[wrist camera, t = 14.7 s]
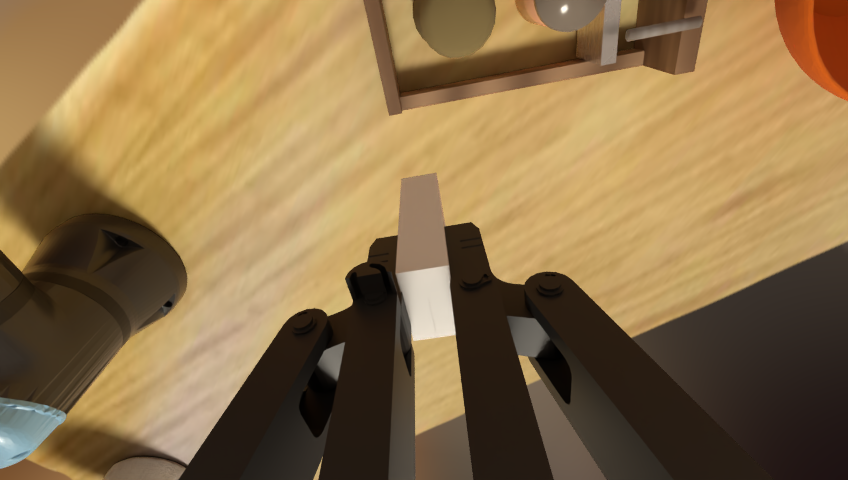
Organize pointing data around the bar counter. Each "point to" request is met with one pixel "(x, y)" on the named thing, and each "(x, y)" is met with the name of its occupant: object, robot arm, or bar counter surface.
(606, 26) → the pusher
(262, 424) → the robot arm
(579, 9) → the terracotta spice jar
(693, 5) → the lane
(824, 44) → the bowl
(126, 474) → the planter
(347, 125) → the bar counter surface
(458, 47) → the pepper mill
